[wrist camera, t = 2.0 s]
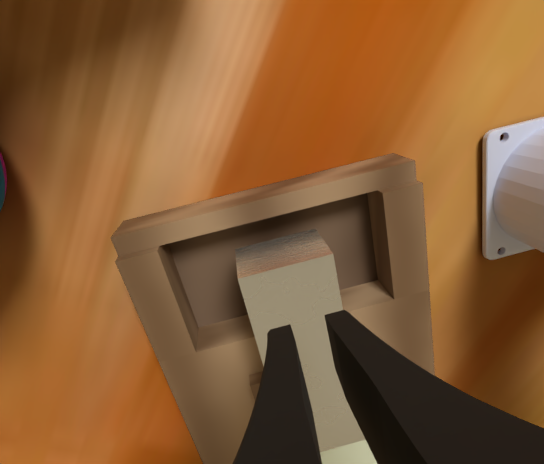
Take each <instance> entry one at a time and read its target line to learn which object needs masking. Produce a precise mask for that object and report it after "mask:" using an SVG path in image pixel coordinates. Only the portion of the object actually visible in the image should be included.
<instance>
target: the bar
mask: <svg viewBox="0 0 544 464" xmlns="http://www.w3.org/2000/svg"><path fill="white" fill-rule="evenodd" d="M235 253H236V266H237V278H238V282H239V285H240V289H241V292H242V296H243V299H244V302H245V306H246V309H247V312H248V316H249V319H250V323H251V326H252V329H253V333H254V336H255V339H256V343H257V346H258V350H259V353H260V356H261V360H262V363H263V366H264V363H265V357H266V350H267V333H268V332H269V330H270V329H274V328H278V327H281V326H285V325H289V324H290V325H291V328H292V331H293V334H294V338H295V341H296V345H297V349H298V354H299V358H300V362H301V366H302V370H303V374H304V378H305V382H306V386H307V390H308V395H309V399H310V403H311V407H312V411H313V417H314V422H315V428H316V433H317V438H318V444H319V449H320V452H323V451H327V450H330V449H334V448H338V447H341V446H345V445H348V444H352V443H355V442H359V441H362V440H366V439H365V437H364V435H363V433H362V431H361V429H360V427H359V425H358V423H357V421H356V419H355V417H354V415H353V413H352V411H351V409H350V406H349V404H348V402H347V400H346V397H345V395H344V392H343V389H342V386H341V384H340V381H339V378H338V375H337V373H336V370H335V366H334V361H333V356H332V351H331V346H330V341H329V336H328V331H327V326H326V321H325V316H324V315H326V314H330V313H334V312H338V311H341V310H343V307H342V301H341V296H340V290H339V284H338V278H337V273H336V267H335V261H334V255H333V253H332V251H331V250H330V248H329V247H328V246H327V244H326V243H325V241H324V240H323V238H322V237H321V236H320V234H319V233H318V231H317V230H316V228H315V229H311V230H308V231H304V232H300V233H296V234H292V235H288V236H284V237H280V238H277V239H273V240H269V241H265V242H261V243H257V244H253V245H249V246H245V247H242V248H238V249H235Z"/></svg>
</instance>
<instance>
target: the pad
mask: <svg viewBox="0 0 544 464" xmlns="http://www.w3.org/2000/svg"><path fill="white" fill-rule="evenodd" d="M320 455H321V460H322V464H377V462H376V460H375V458H374V456H373V454H372V452H371V450H370V448H369V446H368V443H367V441H366V440H362V441H359V442H355V443H352V444H348V445H345V446H341V447H338V448H334V449H330V450H327V451H323V452H320Z"/></svg>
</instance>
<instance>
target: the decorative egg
mask: <svg viewBox="0 0 544 464" xmlns="http://www.w3.org/2000/svg"><path fill="white" fill-rule="evenodd" d="M6 189H7V174H6V167H5V163H4V160H3V157H2V154H1V152H0V211H1V209H2V206H3V203H4V200H5V195H6Z"/></svg>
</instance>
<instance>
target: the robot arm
mask: <svg viewBox="0 0 544 464" xmlns="http://www.w3.org/2000/svg"><path fill="white" fill-rule="evenodd" d="M502 134H503V135H504V136H503V139H502V140H501V141H500V136H501V135H502ZM499 248H501V249H500V251H498V249H499ZM532 249H537V250H539V251H541V252H543V253H544V117H540V118H536V119H532V120H528V121H524V122H520V123H516V124H512V125H508V126H504V127H500V128H496V129H492V130H490V131H488V132H487V133H486V134H485V135H484V137H483V205H482V253H483V256H484V257H485V258H487V259H489V260H494V259H498V258H502V257H506V256H509V255H513V254H517V253H521V252H525V251H528V250H532ZM324 316H325V321H326V326H327V331H328V336H329V341H330V346H331V351H332V356H333V361H334V366H335V370H336V373H337V375H338V378H339V381H340V384H341V386H342V389H343V392H344V395H345V397H346V400H347V402H348V404H349V406H350V409H351V411H352V413H353V415H354V417H355V419H356V421H357V423H358V425H359V427H360V429H361V431H362V433H363V435H364V437H365V439H366V441H367V443H368V446H369V448H370V450H371V452H372V454H373V456H374V458H375V460H376V462H377V464H544V428H541V427H539V426H536V425H534V424H531V423H529V422H527V421H524V420H522V419H520V418H517V417H515V416H513V415H511V414H508V413H506V412H504V411H502V410H500V409H498V408H495V407H493V406H491V405H489V404H487V403H484V402H482V401H480V400H478V399H476V398H474V397H472V396H470V395H468V394H466V393H464V392H462V391H461V390H459V389H457V388H455V387H453V386H452V385H450V384H448V383H446V382H444V381H443V380H441V379H439V378H438V377H436V376H434V375H433V374H431V373H429V372H428V371H426V370H425V369H423V368H421V367H420V366H418V365H417V364H415V363H414V362H412V361H411V360H409V359H408V358H406V357H405V356H403V355H402V354H400V353H399V352H398V351H396V350H395V349H394V348H392V347H391V346H390V345H388V344H387V343H385V342H384V341H383V340H381V339H380V338H379V337H378V336H376V335H375V334H374V333H372V332H371V331H370V330H369V329H368V328H366V327H365V326H364V325H363V324H361V323H360V322H359V321H358V320H357V319H356V318H355V317H353V316H352V315H351V314H350V313H349V312H347V311H346V310H341V311H338V312H334V313H330V314H326V315H324ZM233 464H322V460H321V455H320V449H319V444H318V438H317V433H316V428H315V422H314V417H313V411H312V407H311V403H310V399H309V395H308V390H307V386H306V382H305V378H304V374H303V370H302V366H301V362H300V358H299V354H298V349H297V345H296V341H295V338H294V334H293V331H292V328H291V325H290V324H289V325H285V326H281V327H278V328H274V329H270V330H269V332H268V333H267V350H266V357H265V363H264V368H263V372H262V377H261V381H260V386H259V390H258V393H257V397H256V400H255V404H254V407H253V410H252V414H251V417H250V420H249V423H248V426H247V429H246V431H245V434H244V437H243V439H242V442H241V444H240V447H239V450H238V452H237V455H236V457H235V459H234V461H233Z"/></svg>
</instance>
